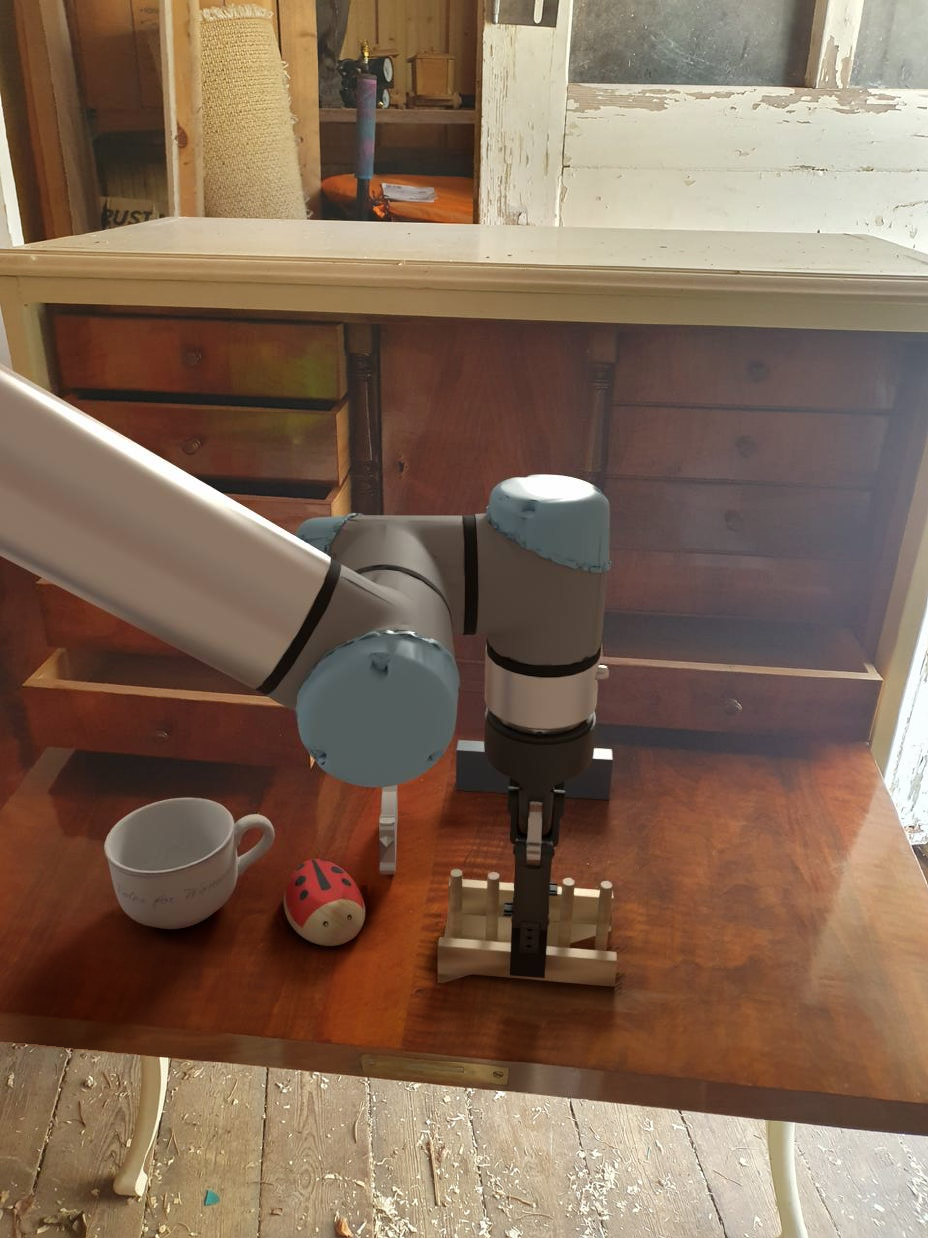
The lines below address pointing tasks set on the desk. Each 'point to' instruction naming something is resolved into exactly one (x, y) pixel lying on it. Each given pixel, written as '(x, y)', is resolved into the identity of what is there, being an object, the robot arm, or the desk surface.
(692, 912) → the desk surface
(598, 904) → the rack
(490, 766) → the back rail
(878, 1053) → the desk surface
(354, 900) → the ladybug figurine
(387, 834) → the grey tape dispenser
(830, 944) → the desk surface
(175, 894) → the teacup
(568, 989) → the desk surface
